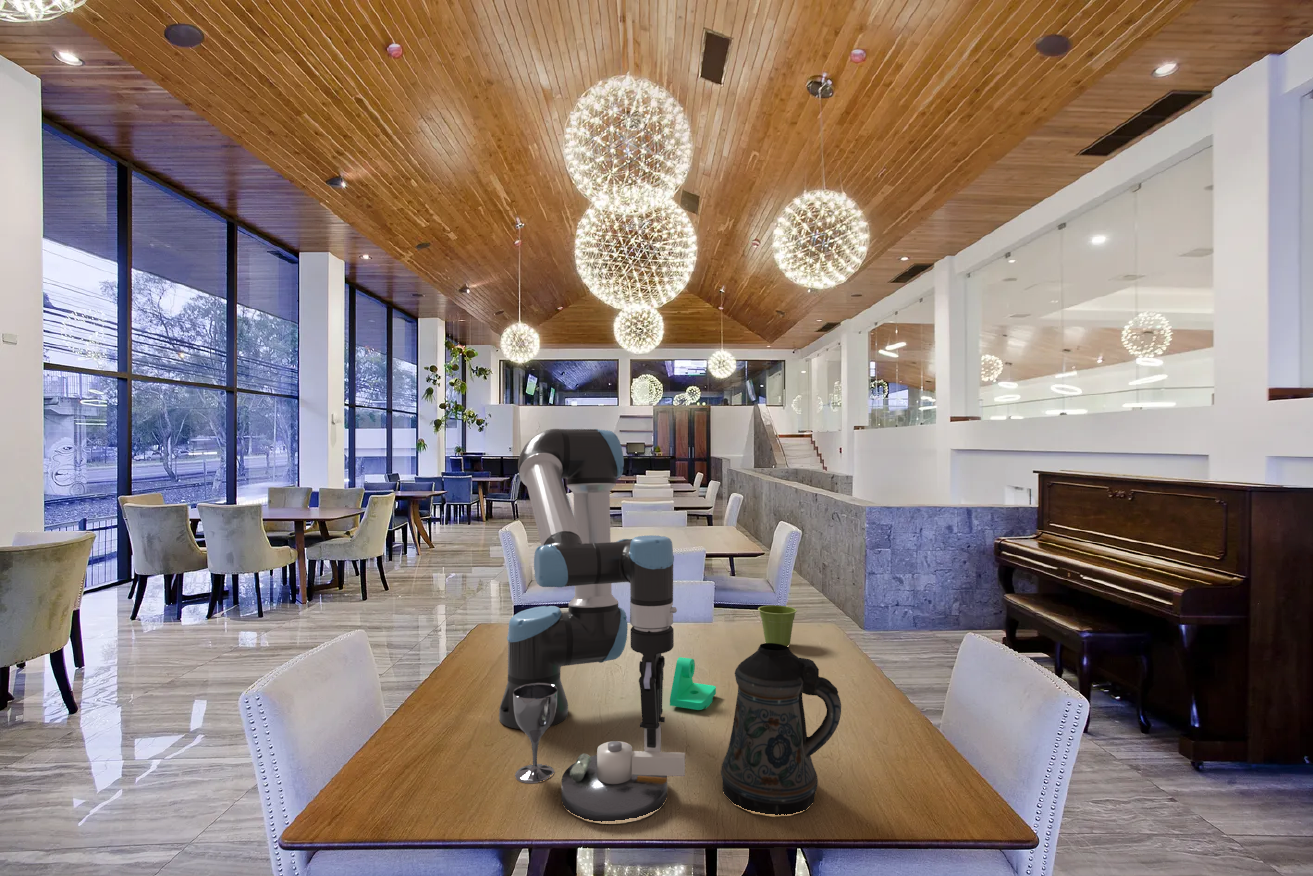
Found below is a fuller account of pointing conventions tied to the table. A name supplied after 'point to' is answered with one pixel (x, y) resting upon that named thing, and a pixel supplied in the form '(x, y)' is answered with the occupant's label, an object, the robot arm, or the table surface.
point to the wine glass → (534, 723)
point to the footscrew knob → (635, 763)
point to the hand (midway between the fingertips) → (652, 762)
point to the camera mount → (689, 687)
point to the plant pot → (777, 623)
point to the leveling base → (609, 793)
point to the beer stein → (776, 732)
